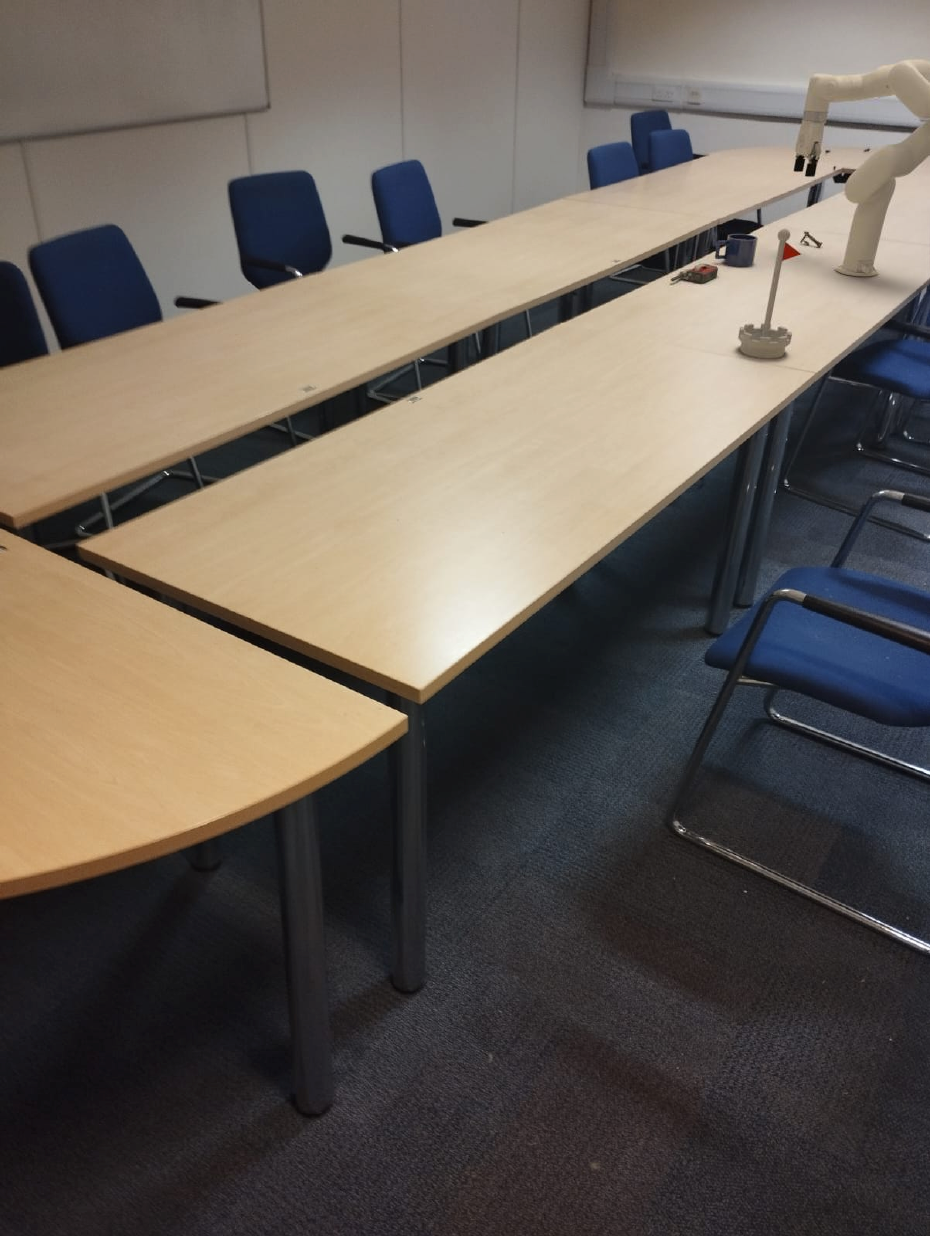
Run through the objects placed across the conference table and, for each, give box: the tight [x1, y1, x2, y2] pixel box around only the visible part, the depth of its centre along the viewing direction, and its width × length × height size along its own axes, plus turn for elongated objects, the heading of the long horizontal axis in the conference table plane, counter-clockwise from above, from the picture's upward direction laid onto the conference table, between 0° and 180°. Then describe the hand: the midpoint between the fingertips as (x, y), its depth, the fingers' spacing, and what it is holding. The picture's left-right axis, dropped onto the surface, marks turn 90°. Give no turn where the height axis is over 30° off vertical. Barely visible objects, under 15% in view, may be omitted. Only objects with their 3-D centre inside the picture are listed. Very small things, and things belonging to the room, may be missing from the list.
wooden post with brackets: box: [799, 230, 823, 249], centre depth 354 cm, size 2×8×4 cm, turn 45°
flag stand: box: [737, 228, 802, 359], centre depth 243 cm, size 13×13×30 cm
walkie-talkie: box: [670, 262, 719, 284], centre depth 309 cm, size 9×4×20 cm
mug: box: [714, 233, 759, 268], centre depth 328 cm, size 13×10×8 cm
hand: (803, 173), depth 327 cm, fingers open, 9 cm apart
